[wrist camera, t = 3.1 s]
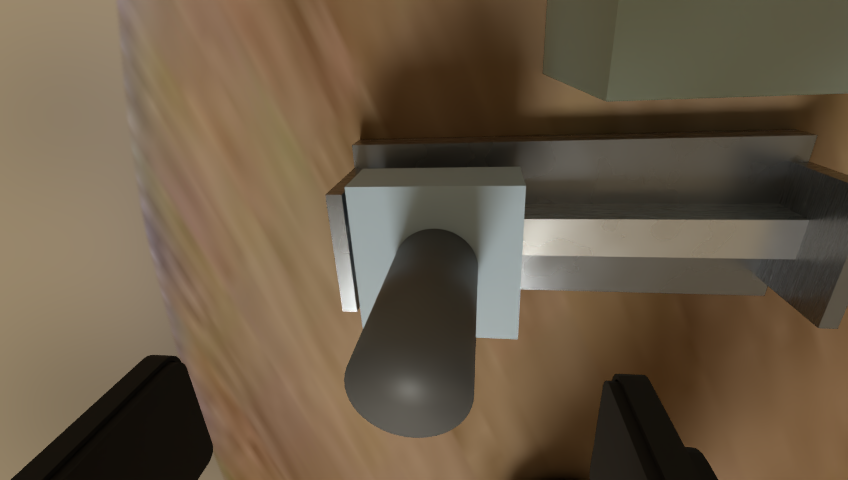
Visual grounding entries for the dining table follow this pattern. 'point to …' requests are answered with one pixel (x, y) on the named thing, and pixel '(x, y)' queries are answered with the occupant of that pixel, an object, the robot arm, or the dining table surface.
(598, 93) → the gauge cabinet
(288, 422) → the dining table surface
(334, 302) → the dining table surface
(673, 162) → the rail
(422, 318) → the carriage
